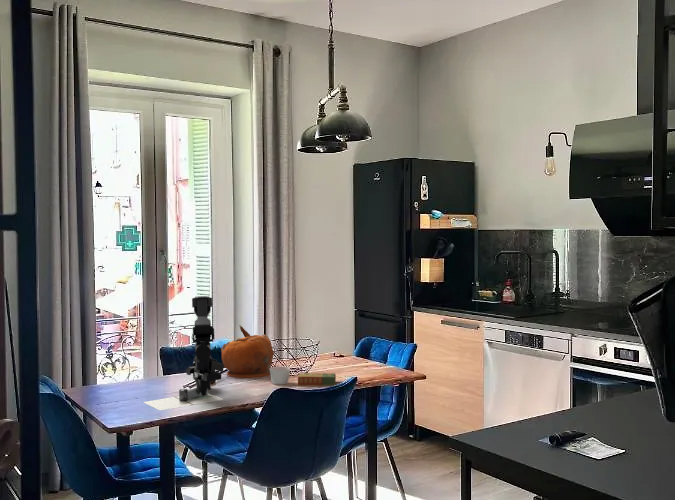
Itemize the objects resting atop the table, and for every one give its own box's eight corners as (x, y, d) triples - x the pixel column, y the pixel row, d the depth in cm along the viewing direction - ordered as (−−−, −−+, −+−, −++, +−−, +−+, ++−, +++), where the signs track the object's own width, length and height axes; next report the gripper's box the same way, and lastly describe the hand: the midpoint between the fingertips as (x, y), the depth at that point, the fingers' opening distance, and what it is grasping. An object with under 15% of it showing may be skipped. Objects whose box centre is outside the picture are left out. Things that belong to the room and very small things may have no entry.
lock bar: (182, 401, 258) (182, 391, 258) (177, 400, 260) (177, 390, 260) (208, 395, 268) (208, 385, 268) (203, 394, 270) (203, 384, 270)
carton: (299, 382, 297) (299, 372, 297) (335, 382, 297) (335, 372, 297) (297, 386, 289) (297, 376, 289) (335, 386, 289) (335, 376, 289)
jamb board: (142, 404, 259) (142, 401, 259) (204, 394, 275) (204, 391, 275) (159, 413, 246) (159, 410, 246) (223, 401, 262) (223, 398, 262)
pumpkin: (213, 373, 317) (213, 325, 316) (257, 366, 333) (257, 320, 333) (241, 380, 300) (240, 330, 300) (286, 372, 317) (285, 324, 316)
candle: (265, 384, 292) (265, 369, 292) (275, 380, 301) (275, 366, 301) (284, 386, 289) (284, 371, 289) (293, 381, 297) (293, 367, 297)
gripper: (233, 356, 262) (233, 396, 262) (210, 350, 277) (211, 388, 277) (207, 359, 255) (207, 401, 255) (185, 353, 270) (186, 392, 270)
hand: (203, 395), depth 265 cm, fingers closed
